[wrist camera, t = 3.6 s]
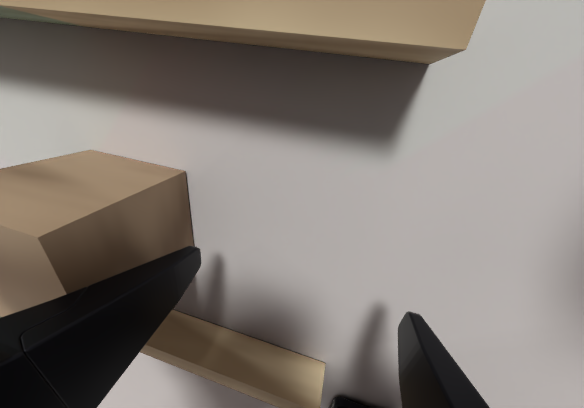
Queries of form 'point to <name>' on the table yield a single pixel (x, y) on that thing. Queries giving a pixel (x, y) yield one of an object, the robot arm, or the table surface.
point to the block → (84, 223)
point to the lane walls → (282, 34)
